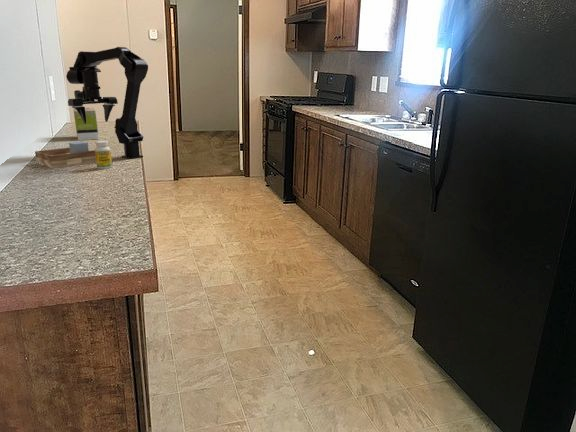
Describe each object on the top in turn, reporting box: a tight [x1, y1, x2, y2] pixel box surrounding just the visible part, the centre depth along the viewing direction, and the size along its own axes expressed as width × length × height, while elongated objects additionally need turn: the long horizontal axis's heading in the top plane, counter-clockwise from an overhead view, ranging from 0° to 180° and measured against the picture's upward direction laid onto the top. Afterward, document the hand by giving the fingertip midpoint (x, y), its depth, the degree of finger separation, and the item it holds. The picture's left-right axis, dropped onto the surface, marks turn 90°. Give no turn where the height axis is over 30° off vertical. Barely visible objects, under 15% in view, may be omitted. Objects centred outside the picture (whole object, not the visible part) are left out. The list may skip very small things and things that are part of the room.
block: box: [68, 140, 90, 153], centre depth 181 cm, size 5×5×5 cm
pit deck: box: [34, 147, 96, 169], centre depth 182 cm, size 14×20×4 cm
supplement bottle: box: [94, 140, 113, 170], centre depth 172 cm, size 5×5×10 cm
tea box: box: [73, 107, 100, 141], centre depth 240 cm, size 15×10×15 cm, turn 25°
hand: (96, 122), depth 197 cm, fingers open, 9 cm apart
